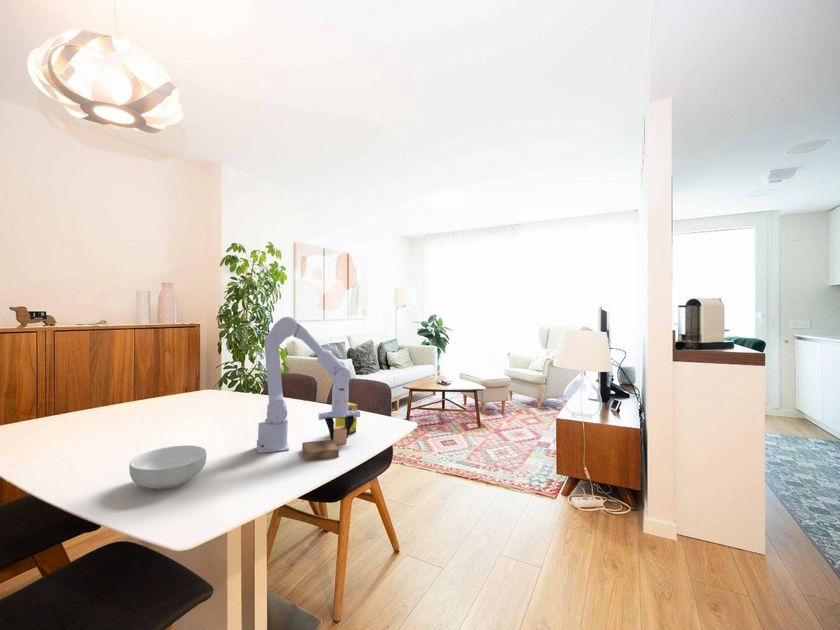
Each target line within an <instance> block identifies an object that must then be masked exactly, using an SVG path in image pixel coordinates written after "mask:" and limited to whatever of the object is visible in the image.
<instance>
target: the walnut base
mask: <svg viewBox="0 0 840 630" xmlns="http://www.w3.org/2000/svg"><path fill="white" fill-rule="evenodd" d="M301 444H302V446H301V451H302V453H303V456H304V459H305V461H307V462H308V461H316V460H323V459H331V458H338V457H339V456H340V454H339V452H340V449H339V447H338V445H336V444H335V442H334V441H333V440H331V439H325V440H324V439H323V440H315V441H306V442H302V443H301ZM339 458H340V457H339Z"/></svg>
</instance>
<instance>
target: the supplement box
mask: <svg viewBox="0 0 840 630" xmlns="http://www.w3.org/2000/svg"><path fill="white" fill-rule="evenodd" d="M348 411H358V404H357V403H352V402H349V401H348ZM357 418H358V417H354V422H353V424H352V426H351V428H350V431H349V434H348V435H351V434H353V433H357ZM339 426H345V418H335V421H334V427H339Z"/></svg>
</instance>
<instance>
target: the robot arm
mask: <svg viewBox="0 0 840 630" xmlns="http://www.w3.org/2000/svg"><path fill="white" fill-rule="evenodd" d="M291 336H293V338H296V339H298V340H301V341H302V342H303V343H304V344H306V345H307V346H308V348H309V349H311V351H312V352H313V353H315V355H316V357H317V359H316V360H317V363H318V364H319V365H320V367H322V368H323V369H324V370H325V371H326V372H327V374H328V375H331V378H332V379H333V380H332V389H331V390H332V391H331V393H332V394H331V411H327V412H319V413H318V420H319V421H322V420H324V421H325V424H326V426H327V428H328V429H327V430H328V433H329V440H333V428H334V427H335V421H334V419H336V418H345V428H346V429H347V439H348V438H349V435H350V434H349V431H350V428H351V426H352V424H353V422H354V417H357V418H360V417H361V411H360V410H358V409H357V411H348V402H349V396H350V395H349V393H350V392H349V391H350V388H349V384H350V383H349V382H350V380H351V377H352V375H351V372H350V370H349V368H347V367H346V366H345V363H344V362H343V361H340V359H339V358H338V357H337V356H336V352H334V351H331V349H324V348H323V346H322V345H320V343H319V342H318V341H317V340H316V339H315V337H314V336H313V335H312V334H311V333H310V331H308V330H307V329H306V328H305V327H304V326H303V325H302V324H300V323H298V322H297V320H295V318H293V317H290V316H285V317H282V318H280V319H279V320H278V321H276V322H275V323H274V324H273V326H272V328H271V330H270V331H269V332H268V334H267V336H266V338H265V339H264V342H263V343H264V355H265V367H266V368H265V369H266V379H267V393H268V404H267V407H266V418H265V419H264V421H263V422H259V423H258V425H257V426H258V429H257V439H256V446H257V453H258V454H262V453H263V454H264V453H272V452H273V453H274V452H280V451H289V450H290V447H289V443H288V431H289V430H288V429H289V428H288V427H289V426H288V425H289V418H288V417H287V416H288V409H287V403H286V401H285V400H284V394H283V393H284V392H283V383H282V369H281V368H282V367H281V356H280V355H281V354H280V345H282V343H283V342H285V340H286V339H288V338H289V337H291Z"/></svg>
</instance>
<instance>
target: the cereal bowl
mask: <svg viewBox="0 0 840 630" xmlns="http://www.w3.org/2000/svg"><path fill="white" fill-rule="evenodd" d="M206 461H207V450H206V448H205V447H202V446H198V445H175V446H174V445H173V446H168V447H167V446H166V447H161V448H157V449H153V450H149V451H145V452H143V453H140V454H139V455H137V456H135V457H133V458H132V459H131V460H130V461H129V470H128V471H129V476H130V479H131V480H132V482H133V483H135V484H136V485H138V486H140V487H144V488H148V489H154V490H168V489H174V488H177V487H179V486H181V485H184V484H185V483H186V482H187V481H190V480H192V479H193V478H195V477H196V476H197V475H199V474H200V473H201V472H202V470H203V469H204V467H205V465H206Z"/></svg>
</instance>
